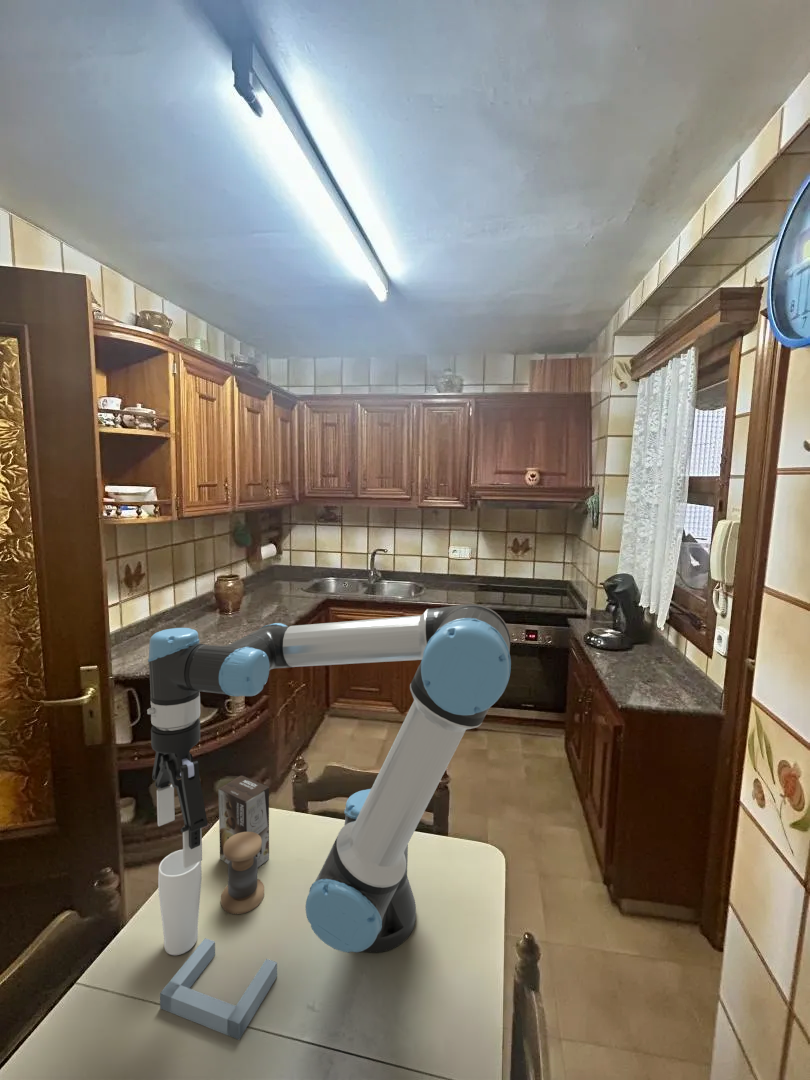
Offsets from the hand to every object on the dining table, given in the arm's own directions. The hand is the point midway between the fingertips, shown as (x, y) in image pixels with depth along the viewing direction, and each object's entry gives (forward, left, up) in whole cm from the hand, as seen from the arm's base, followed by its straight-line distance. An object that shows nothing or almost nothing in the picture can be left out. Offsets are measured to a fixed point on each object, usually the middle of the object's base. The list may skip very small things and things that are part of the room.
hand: (178, 841), depth 85 cm
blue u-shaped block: (-12, +5, -18) cm, 23 cm away
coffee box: (+2, -21, -19) cm, 28 cm away
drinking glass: (0, 0, -19) cm, 19 cm away
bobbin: (-4, -12, -19) cm, 22 cm away
